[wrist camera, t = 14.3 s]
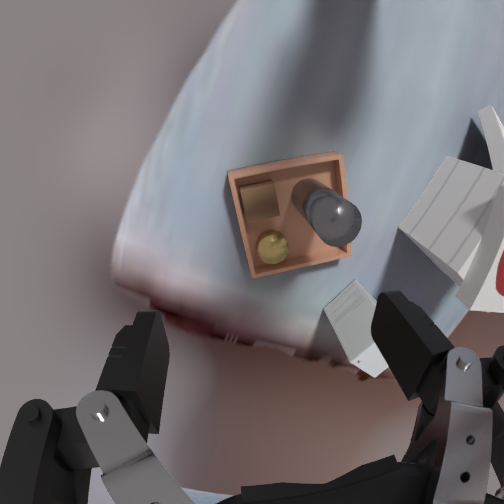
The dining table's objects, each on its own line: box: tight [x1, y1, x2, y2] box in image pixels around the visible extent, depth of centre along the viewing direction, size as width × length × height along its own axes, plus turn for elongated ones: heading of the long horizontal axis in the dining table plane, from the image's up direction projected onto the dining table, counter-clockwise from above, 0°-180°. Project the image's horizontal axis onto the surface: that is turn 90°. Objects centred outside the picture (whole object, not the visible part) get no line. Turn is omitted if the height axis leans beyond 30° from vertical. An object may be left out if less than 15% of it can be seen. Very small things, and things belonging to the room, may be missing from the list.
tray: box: [228, 151, 351, 279], centre depth 37 cm, size 14×14×3 cm
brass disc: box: [256, 230, 289, 264], centre depth 38 cm, size 4×4×2 cm
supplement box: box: [324, 280, 389, 377], centre depth 40 cm, size 7×7×13 cm
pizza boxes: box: [398, 105, 504, 314], centre depth 31 cm, size 19×30×18 cm, turn 146°
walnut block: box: [239, 180, 280, 223], centre depth 35 cm, size 4×4×2 cm
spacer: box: [291, 178, 362, 247], centre depth 31 cm, size 5×5×11 cm
